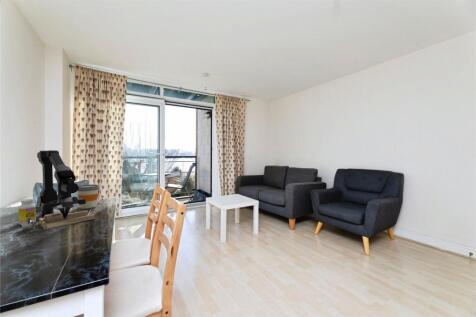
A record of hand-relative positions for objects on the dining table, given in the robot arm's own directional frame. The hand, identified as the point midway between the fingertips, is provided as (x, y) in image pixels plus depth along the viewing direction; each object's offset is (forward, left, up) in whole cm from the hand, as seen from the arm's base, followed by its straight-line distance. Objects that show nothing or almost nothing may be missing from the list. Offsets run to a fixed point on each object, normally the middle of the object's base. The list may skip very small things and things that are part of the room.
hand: (64, 218), depth 117 cm
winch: (0, -15, -2) cm, 15 cm away
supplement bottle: (-12, -14, -2) cm, 18 cm away
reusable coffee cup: (-26, +18, -2) cm, 32 cm away
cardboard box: (0, -5, -2) cm, 5 cm away
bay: (0, +1, -2) cm, 2 cm away
